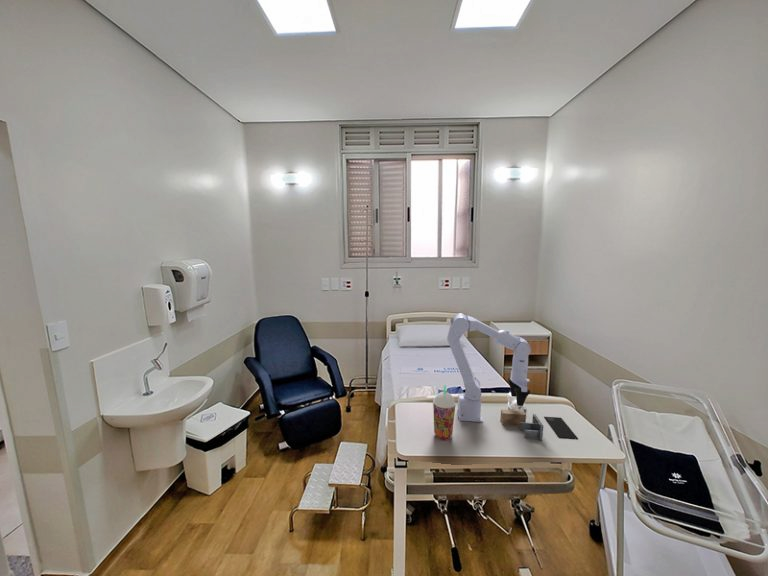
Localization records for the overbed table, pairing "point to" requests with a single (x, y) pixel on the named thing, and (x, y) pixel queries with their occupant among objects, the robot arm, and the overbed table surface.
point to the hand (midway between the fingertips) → (517, 400)
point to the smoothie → (443, 414)
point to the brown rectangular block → (512, 417)
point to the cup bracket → (532, 428)
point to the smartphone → (560, 428)
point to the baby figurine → (514, 403)
